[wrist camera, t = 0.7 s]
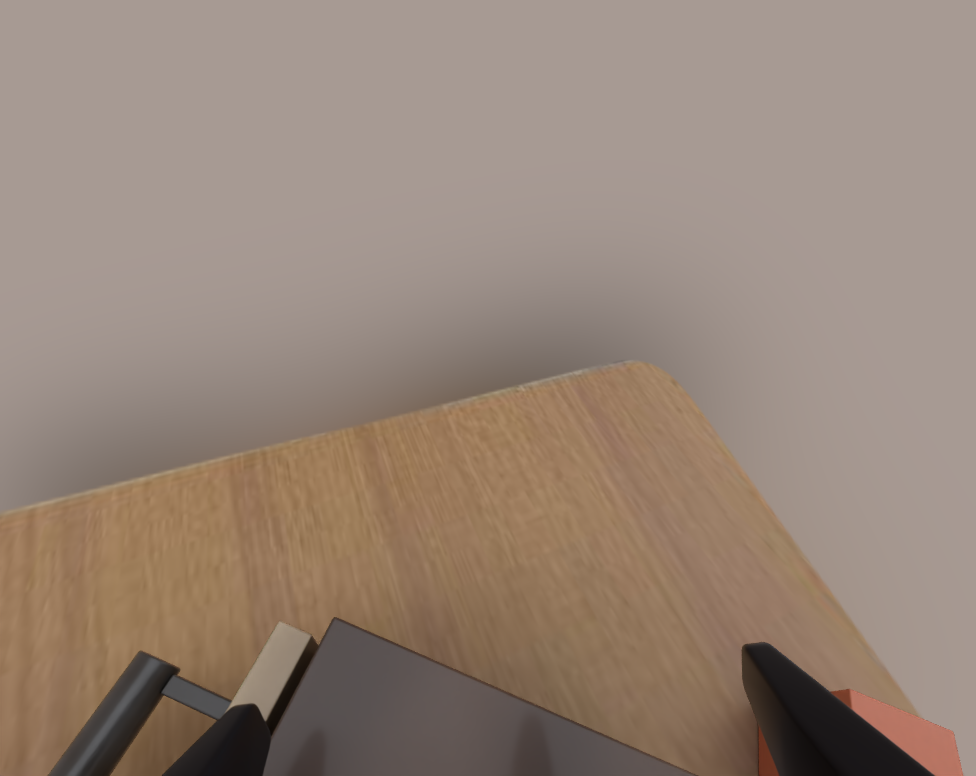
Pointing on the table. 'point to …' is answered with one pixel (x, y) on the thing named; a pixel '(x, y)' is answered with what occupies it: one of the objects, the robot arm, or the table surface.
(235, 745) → the robot arm
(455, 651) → the table surface
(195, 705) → the drawer
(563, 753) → the cabinet
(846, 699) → the block
